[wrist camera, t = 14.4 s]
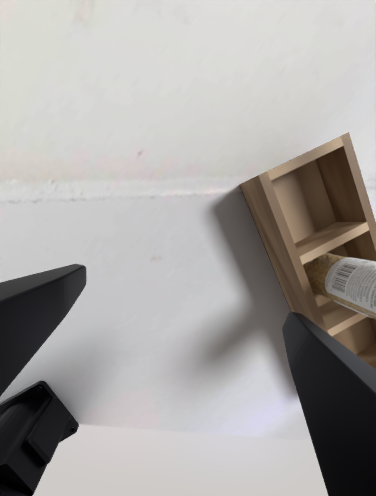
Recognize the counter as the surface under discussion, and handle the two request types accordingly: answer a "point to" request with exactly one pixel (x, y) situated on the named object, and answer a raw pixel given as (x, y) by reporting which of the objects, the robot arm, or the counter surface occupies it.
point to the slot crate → (317, 232)
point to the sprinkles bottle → (344, 281)
